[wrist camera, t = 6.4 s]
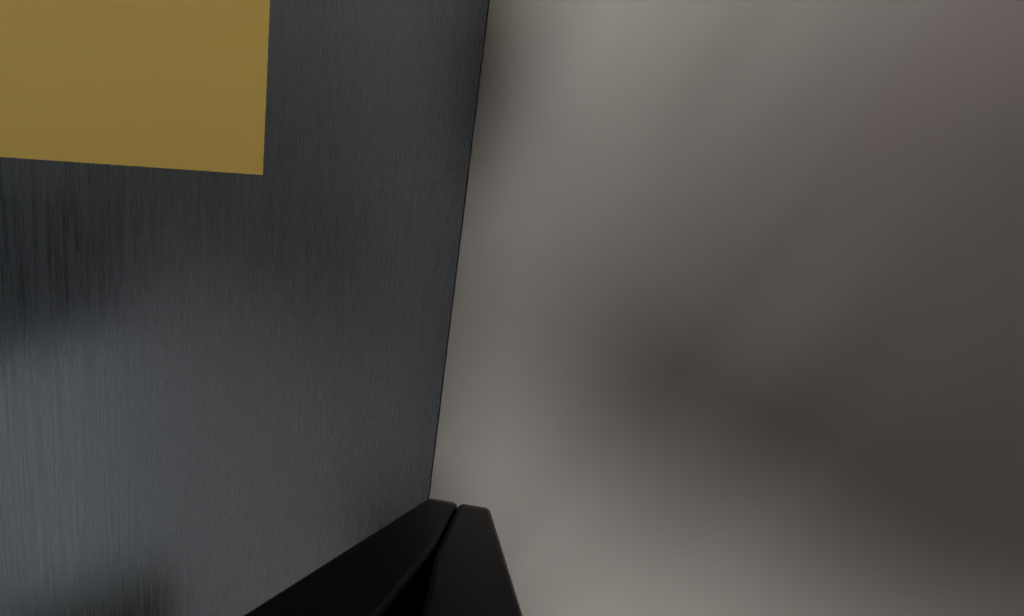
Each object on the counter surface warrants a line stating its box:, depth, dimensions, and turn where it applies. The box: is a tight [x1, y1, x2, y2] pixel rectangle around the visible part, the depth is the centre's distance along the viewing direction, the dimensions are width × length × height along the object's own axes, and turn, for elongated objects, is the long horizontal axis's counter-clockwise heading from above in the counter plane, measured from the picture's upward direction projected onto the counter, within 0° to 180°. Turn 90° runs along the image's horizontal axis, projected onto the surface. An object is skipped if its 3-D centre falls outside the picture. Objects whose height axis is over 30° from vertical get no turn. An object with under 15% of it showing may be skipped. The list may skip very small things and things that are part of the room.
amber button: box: [0, 0, 270, 175], centre depth 10 cm, size 5×4×4 cm
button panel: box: [0, 0, 489, 616], centre depth 14 cm, size 4×20×11 cm, turn 168°
